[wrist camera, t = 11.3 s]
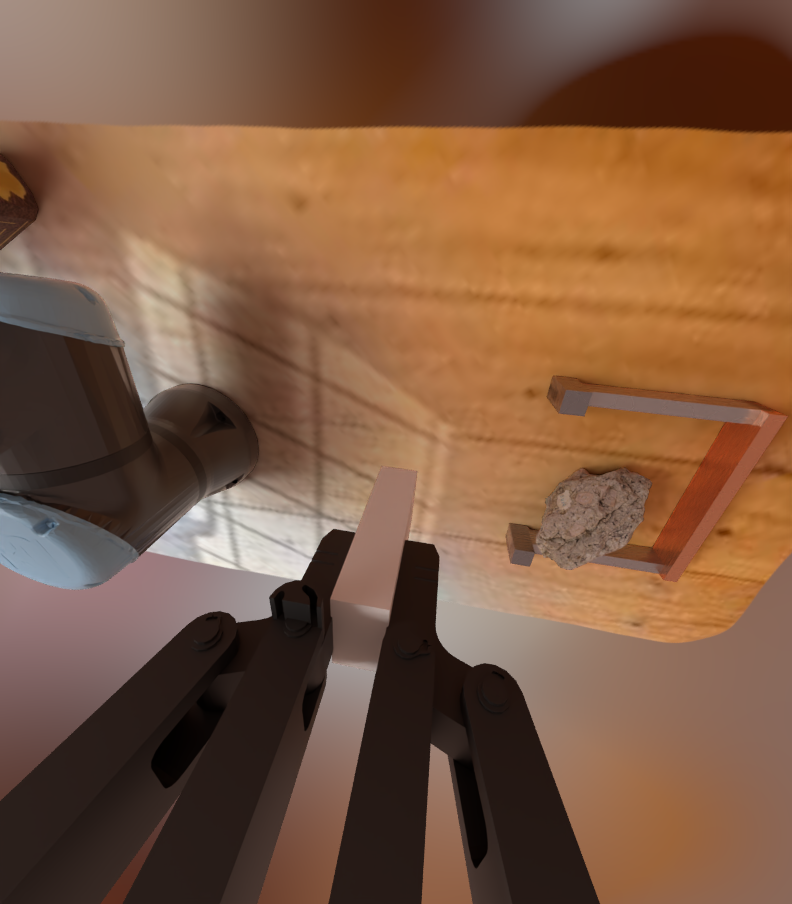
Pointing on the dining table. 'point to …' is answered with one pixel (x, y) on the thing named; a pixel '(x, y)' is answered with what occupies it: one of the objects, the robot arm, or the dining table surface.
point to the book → (14, 203)
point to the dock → (706, 492)
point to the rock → (591, 516)
